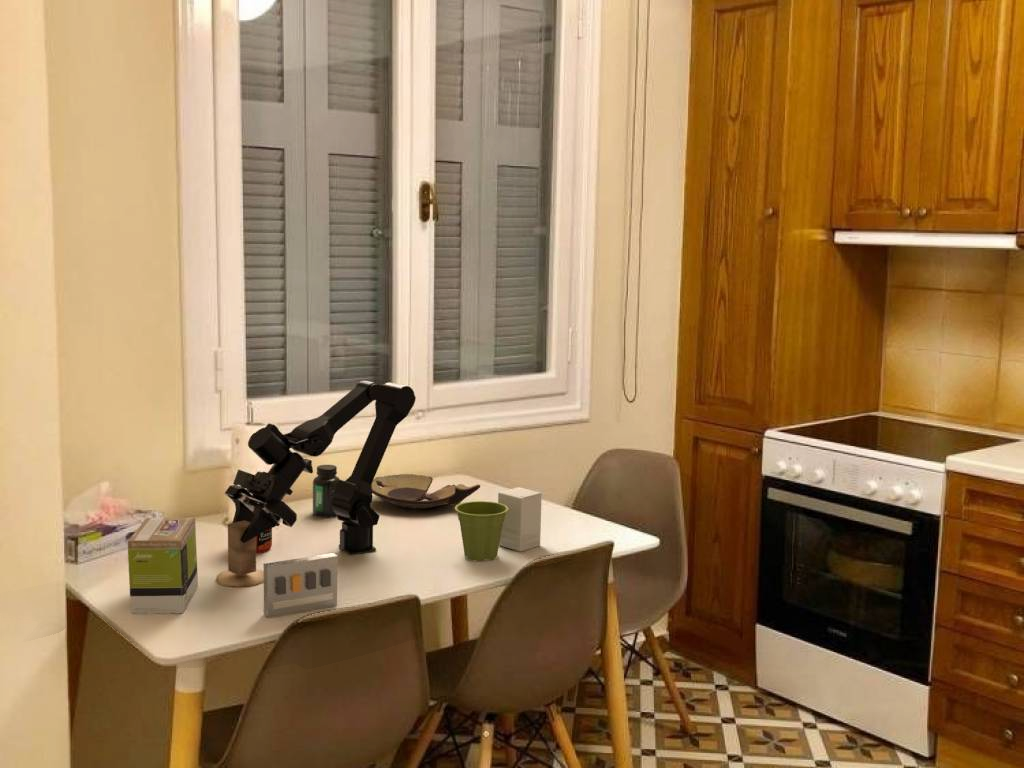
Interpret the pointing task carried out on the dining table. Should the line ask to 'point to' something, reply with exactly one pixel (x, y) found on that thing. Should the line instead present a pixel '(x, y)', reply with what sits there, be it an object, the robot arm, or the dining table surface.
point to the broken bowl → (418, 491)
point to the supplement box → (521, 519)
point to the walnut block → (240, 550)
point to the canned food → (263, 540)
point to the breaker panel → (300, 585)
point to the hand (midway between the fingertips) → (236, 539)
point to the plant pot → (481, 528)
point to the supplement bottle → (324, 490)
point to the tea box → (162, 565)
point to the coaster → (240, 578)
